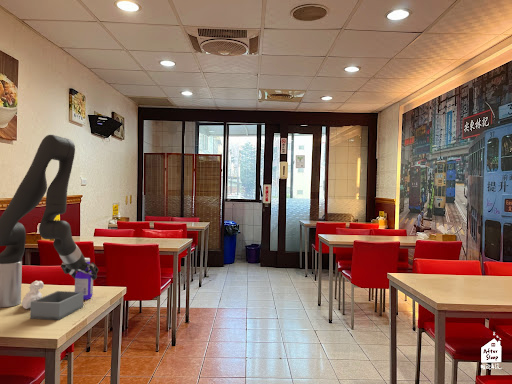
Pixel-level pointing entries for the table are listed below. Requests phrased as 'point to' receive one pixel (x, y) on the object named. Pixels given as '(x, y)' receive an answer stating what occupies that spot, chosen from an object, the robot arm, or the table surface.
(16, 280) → the robot arm
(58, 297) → the tote
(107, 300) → the table surface
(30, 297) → the bust
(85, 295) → the bottle
